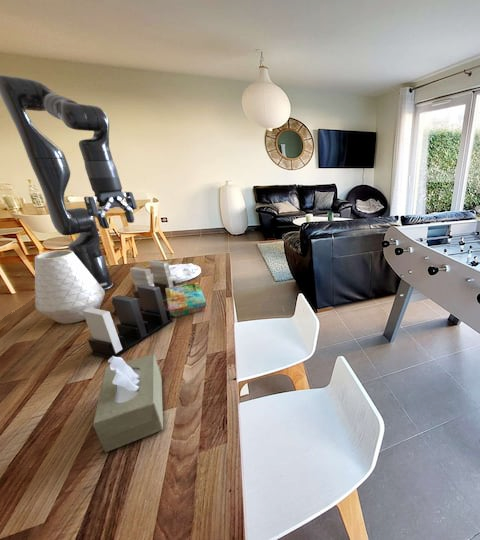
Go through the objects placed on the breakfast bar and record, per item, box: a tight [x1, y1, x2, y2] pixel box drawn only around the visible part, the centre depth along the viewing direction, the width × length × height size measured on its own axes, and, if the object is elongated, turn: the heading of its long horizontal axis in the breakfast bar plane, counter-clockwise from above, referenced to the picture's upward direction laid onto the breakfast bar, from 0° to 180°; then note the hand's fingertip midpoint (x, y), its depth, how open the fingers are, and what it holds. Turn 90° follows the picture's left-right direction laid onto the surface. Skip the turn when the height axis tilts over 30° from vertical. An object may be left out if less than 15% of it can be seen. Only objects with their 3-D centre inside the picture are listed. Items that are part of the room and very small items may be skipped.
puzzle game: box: [165, 281, 207, 318], centre depth 111 cm, size 12×5×20 cm
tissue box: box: [92, 353, 164, 453], centre depth 64 cm, size 19×10×16 cm, turn 33°
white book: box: [82, 308, 122, 353], centre depth 82 cm, size 2×7×13 cm, turn 76°
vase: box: [34, 249, 106, 325], centre depth 97 cm, size 18×17×23 cm
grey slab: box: [111, 259, 177, 315], centre depth 109 cm, size 21×8×14 cm, turn 166°
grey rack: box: [87, 284, 174, 360], centre depth 89 cm, size 21×8×14 cm, turn 166°
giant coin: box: [151, 262, 202, 285], centre depth 134 cm, size 20×20×3 cm
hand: (118, 225), depth 98 cm, fingers open, 8 cm apart
